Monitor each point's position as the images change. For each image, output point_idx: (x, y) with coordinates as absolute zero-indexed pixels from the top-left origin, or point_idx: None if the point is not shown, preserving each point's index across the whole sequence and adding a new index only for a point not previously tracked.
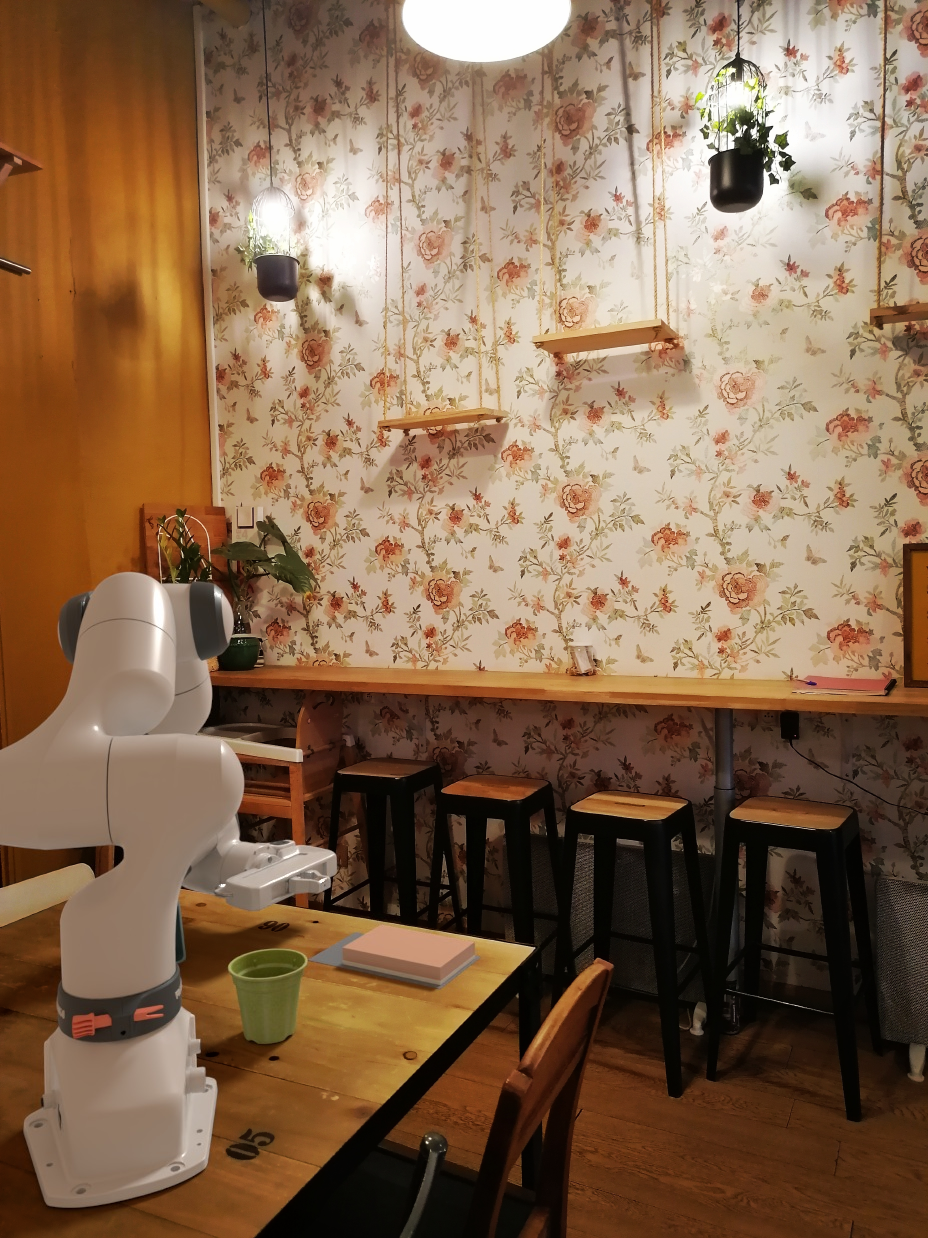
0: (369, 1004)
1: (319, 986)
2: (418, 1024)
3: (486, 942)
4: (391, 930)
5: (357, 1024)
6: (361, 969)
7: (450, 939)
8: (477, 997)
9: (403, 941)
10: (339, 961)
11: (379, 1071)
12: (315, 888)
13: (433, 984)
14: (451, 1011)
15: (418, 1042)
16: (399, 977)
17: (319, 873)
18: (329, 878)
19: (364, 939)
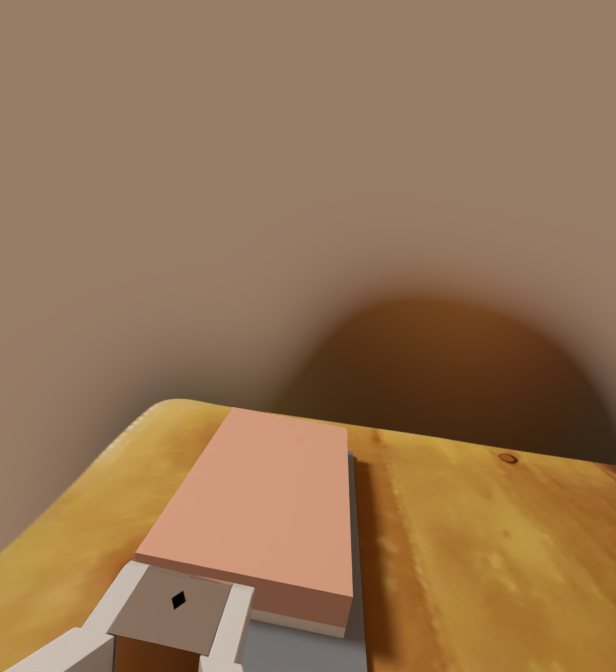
0: (454, 524)
1: (478, 656)
2: (447, 462)
3: (141, 431)
4: (189, 515)
5: (517, 520)
6: None
7: (228, 427)
8: None
9: (259, 480)
10: (330, 657)
11: (562, 474)
12: (244, 642)
13: None
14: (392, 442)
15: (480, 456)
16: None
17: (37, 652)
18: (137, 564)
19: (272, 558)
